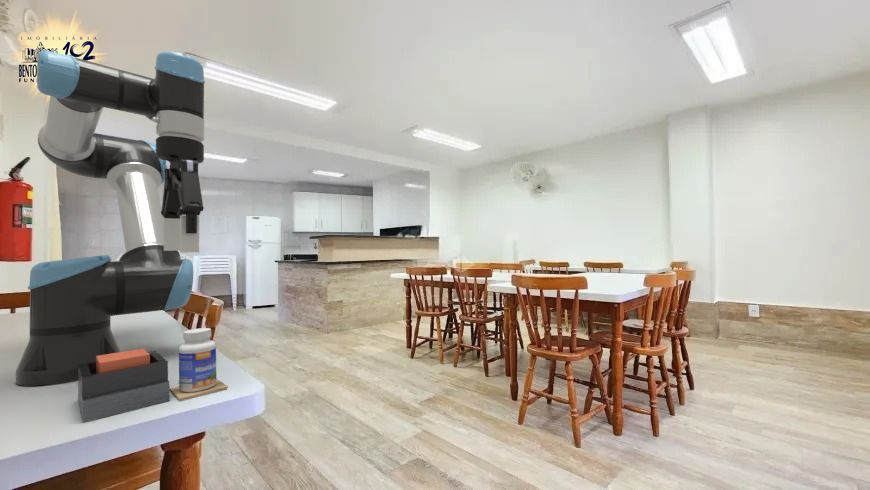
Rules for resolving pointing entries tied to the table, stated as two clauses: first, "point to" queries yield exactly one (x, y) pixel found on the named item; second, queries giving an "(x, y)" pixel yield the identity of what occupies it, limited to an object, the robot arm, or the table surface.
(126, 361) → the orange block
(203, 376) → the pill bottle
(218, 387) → the coaster
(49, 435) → the table surface
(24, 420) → the table surface
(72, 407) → the table surface
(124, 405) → the grey square tray
